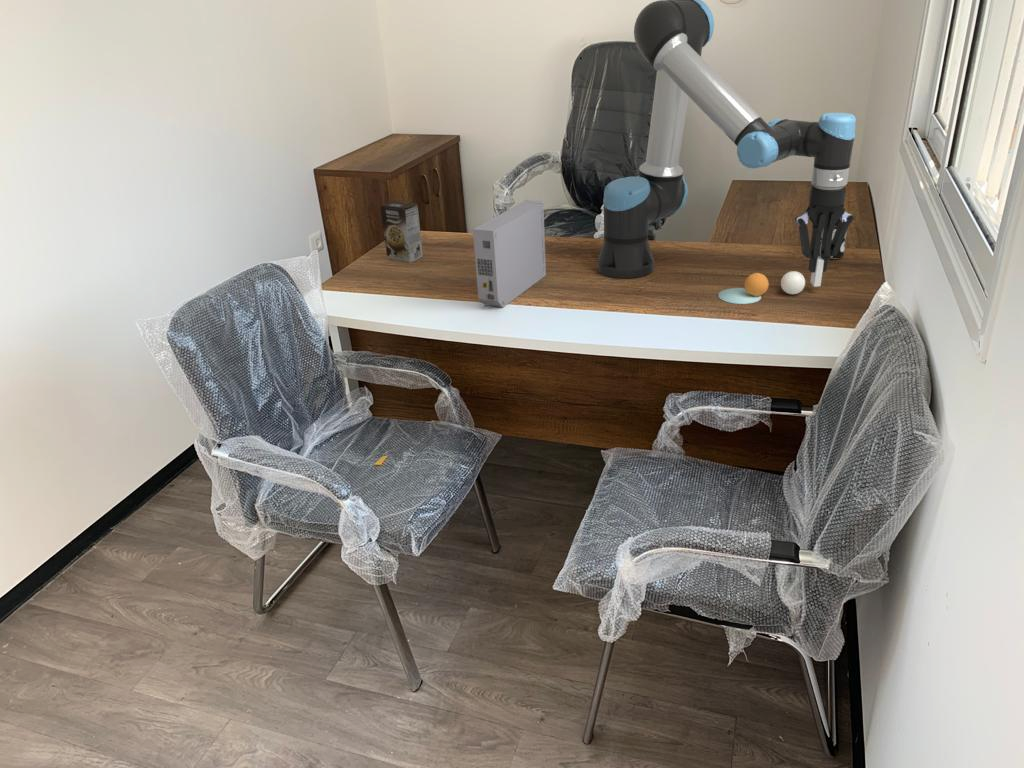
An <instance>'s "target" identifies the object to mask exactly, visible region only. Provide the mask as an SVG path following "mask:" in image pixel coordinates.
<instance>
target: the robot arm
mask: <svg viewBox="0 0 1024 768" xmlns="http://www.w3.org/2000/svg"><path fill="white" fill-rule="evenodd" d="M714 27H715V20H714V16H713V13H712V11H711V8H709V6H708V5H707V3H706V2H705V1H703V0H656V1H652V2H651V3H649V4H647V5H646V6H645V7H644V8H643V9H642V10H641V11H640V12H639V13H638V15H637V17H636V19H635V23H634V27H633V36H634V41H635V45H636V47H637V50H638V51H639V52H640V54H641V55H642V56H643V58H644V59H645V61H647V63H648V64H650V65H651V67H652V68H653V69H654V70H655V71H656V75H655V76H656V77H655V86H654V91H653V93H654V94H653V102H652V108H651V109H652V110H651V119H650V125H649V126H650V127H649V132H648V133H649V134H648V141H647V150H646V155H645V156H646V157H645V162H644V163H642V164H641V165H640V166H639V168H638V175H637V176H626V177H619V178H616V179H615V180H612V181H610V182H608V183H607V185H606V186H605V187H604V191H603V198H602V199H603V200H602V201H603V202H602V204H603V244H602V247H601V250H600V253H599V256H598V258H597V266H596V267H597V271H598V273H600V274H601V275H603V276H605V277H610V278H617V279H634V278H640V277H644V276H647V275H649V274H651V273H653V272H654V270H655V259H654V256H653V252H652V249H651V245H650V242H649V227H650V226H649V225H651V224H653V223H655V222H658V221H660V220H662V219H666V218H669V217H671V216H673V215H674V214H676V213H678V212H679V211H680V210H681V209H682V208H683V207H684V205H685V204H686V202H687V199H688V195H689V187H688V183H686V179H685V177H684V169H683V168H682V167H681V166H680V157H681V150H682V143H683V135H684V129H685V122H686V117H687V115H686V114H687V110H688V109H687V108H688V103H689V99H691V101H693V103H694V104H696V106H697V107H699V109H700V110H701V111H702V112H703V113H704V114H705V115H706V116H707V118H709V119H710V120H711V121H712V122H713V123H714V124H715V126H717V127H718V128H719V130H721V131H722V132H723V134H725V136H727V137H728V138H729V139H730V141H732V142H733V144H735V146H736V154H737V158H738V161H739V162H740V163H741V165H742V166H744V167H746V168H748V169H760V168H764V167H767V166H769V165H771V164H772V163H776V162H777V161H780V160H784V159H786V158H788V157H793V156H796V157H797V156H799V157H807V158H814V159H813V169H812V176H811V187H810V191H809V201H808V206H807V208H806V210H805V213H804V214H802V215H801V216H795V217H794V220H795V222H796V224H797V226H798V229H799V231H798V232H799V238H800V239H799V240H800V247H801V254H802V255H803V256H804V257H805V258H806V259H809V260H808V261H809V263H808V267H807V268H808V271H809V272H810V282H809V284H811V286H813V287H815V288H816V287H821V285H822V278H823V272H824V273H825V272H826V271H827V267H828V262H829V261H831V260H830V257H832V256H836V255H837V253H838V251H839V248H840V246H841V243H842V241H843V238H844V236H845V233H846V231H847V232H848V229H849V226H850V224H851V223H852V222H853V221H854V220H855V217H854V215H853V214H851V213H849V212H847V211H846V208H845V206H844V204H845V201H846V195H847V194H846V193H847V187H846V186H847V184H848V182H849V173H850V166H851V159H852V154H853V149H854V148H853V147H854V141H855V137H856V123H857V122H856V121H857V119H856V116H855V115H854V114H852V113H848V112H825V113H822V114H821V115H820V116H819V120H818V121H808V120H807V121H806V120H805V121H804V120H794V119H788V118H783V119H776V118H775V119H772V120H770V121H769V122H768V123H767V122H766V121H765V120H764V119H763V118H762V117H761V116H760V115H759V114H758V113H757V112H756V111H755V110H754V109H753V108H752V107H751V106H750V105H749V103H747V102H746V101H745V99H743V98H742V97H741V96H740V95H739V94H738V92H736V91H735V90H734V88H732V87H731V86H730V85H729V84H728V83H727V82H726V81H725V80H724V79H723V77H721V76H720V75H719V74H718V73H717V72H716V71H715V70H714V68H712V67H711V65H710V64H709V63H707V62H706V61H705V59H704V58H703V57H701V56H702V51H703V48H704V47H705V46H706V45H707V44H708V43H709V42H710V40H711V39H712V37H713V34H714V31H715V28H714ZM846 212H847V213H846ZM839 219H840V222H839V224H838V227H837V229H836V232H835V235H834V237H833V240H832V234H833V231H834V227H835V223H836V222H837V221H838V220H839ZM809 221H810V222H811V224H812V225H811V227H812V230H811V231H812V234H811V239H810V237H809V236H810V235H809V230H808V229H809V227H808V226H807V224H808V222H809ZM823 228H824V230H823ZM847 228H848V229H847ZM822 231H823V238H822V245H821V253H820V255H821V257H819V248H820V241H821V234H822ZM831 241H832V242H831Z"/></svg>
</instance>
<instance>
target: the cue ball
mask: <svg viewBox="0 0 1024 768" xmlns="http://www.w3.org/2000/svg"><path fill="white" fill-rule="evenodd" d="M780 286H781V287H780V288H781V289H782V291H783V292H785V294H789V295H797V294H799V293H801V292H802V291H803V290H804V289H805V286H806V279H805V277H804V275H803V274H802V273H801V272H799V271H796V270H794V271H792V270H791V271H787V272H786V273H785V274H784V275H783V276H782V277H781V280H780Z"/></svg>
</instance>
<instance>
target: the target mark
mask: <svg viewBox="0 0 1024 768" xmlns="http://www.w3.org/2000/svg"><path fill="white" fill-rule="evenodd" d="M717 295H718V299H720V300H721V301H723V302H725V303H730V304H733V305H734V304H735V305H750V304H755V303H757V302H759V301H761V300H762V295H760V296H752V295H750V294H749V293H747V291H746V290H745V287H732V288H726V289H725V288H724V289H722V290H721V291H719V292H718V294H717Z"/></svg>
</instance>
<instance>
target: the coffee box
mask: <svg viewBox="0 0 1024 768" xmlns="http://www.w3.org/2000/svg"><path fill="white" fill-rule="evenodd" d="M379 207H380V213H381V221H382V228H383V237H384V243H385V248H386V249H385V251H386V258H387V260H391V261H397V262H403V263H410V264H411V263H413V262H415V261H417V260H419V258H420V259H421V257H422V258H423V257H424V254H423V246H422V236H421V227H420V215H419V206H418V203H416V202H409V201H408V202H407V201H400V200H392V201H390V202H385V203H383V204H381V205H380V206H379Z"/></svg>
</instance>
